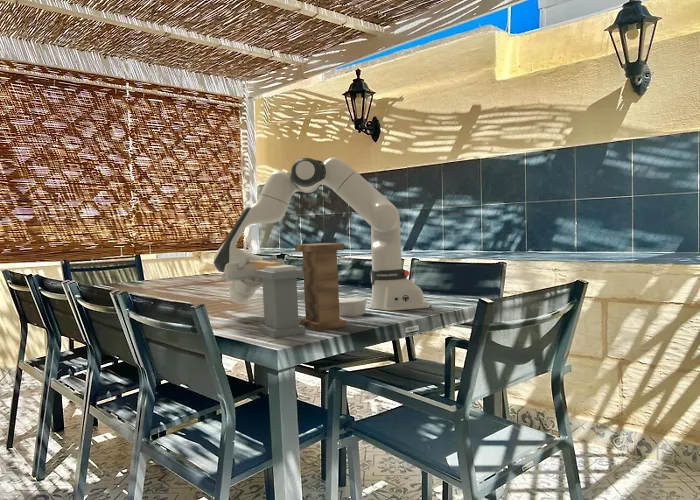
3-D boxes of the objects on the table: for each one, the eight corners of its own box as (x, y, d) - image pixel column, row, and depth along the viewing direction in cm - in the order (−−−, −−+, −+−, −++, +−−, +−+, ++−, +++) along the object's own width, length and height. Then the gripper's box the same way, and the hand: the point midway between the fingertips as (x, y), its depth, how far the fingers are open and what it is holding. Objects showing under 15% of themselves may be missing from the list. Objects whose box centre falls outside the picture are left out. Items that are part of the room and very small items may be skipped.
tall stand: (299, 324, 175) (295, 244, 174) (326, 320, 180) (323, 242, 179) (318, 331, 163) (314, 245, 162) (347, 327, 168) (343, 243, 167)
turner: (248, 267, 177) (247, 261, 177) (268, 266, 180) (268, 260, 180) (274, 272, 157) (274, 265, 157) (296, 270, 160) (296, 263, 160)
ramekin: (331, 317, 187) (330, 302, 187) (340, 311, 198) (339, 297, 198) (362, 317, 184) (361, 302, 184) (370, 311, 195) (369, 297, 195)
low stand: (258, 331, 168) (254, 270, 167) (287, 326, 173) (284, 267, 172) (275, 338, 156) (271, 272, 155) (306, 333, 161) (303, 270, 160)
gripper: (218, 271, 183) (227, 252, 172) (274, 266, 193) (287, 247, 182) (221, 288, 180) (231, 269, 170) (279, 282, 190) (291, 264, 180)
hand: (261, 258), depth 176 cm, fingers open, 8 cm apart
